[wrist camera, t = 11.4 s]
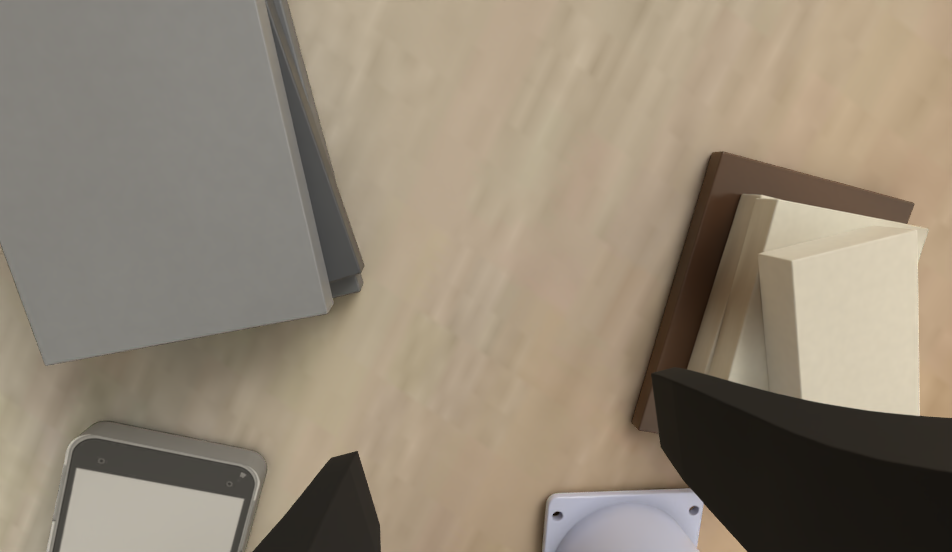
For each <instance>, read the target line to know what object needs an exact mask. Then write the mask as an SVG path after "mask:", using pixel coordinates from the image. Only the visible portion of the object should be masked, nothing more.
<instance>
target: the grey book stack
mask: <svg viewBox="0 0 952 552" xmlns="http://www.w3.org/2000/svg"><path fill="white" fill-rule="evenodd" d="M0 244H1V247H2V249H3V252H4V255H5V258H6V260H7V263H8V266H9V268H10V271H11V274H12V277H13V279H14V282H15V285H16V288H17V290H18V293H19V296H20V298H21V301H22V304H23V307H24V309H25V312H26V315H27V317H28V320H29V323H30V326H31V328H32V331H33V334H34V336H35V339H36V342H37V345H38V347H39V350H40V353H41V356H42V358H43V361H44V364H45V365H46V366H48V365H54V364H59V363H64V362H70V361H75V360H81V359H86V358H91V357H97V356H102V355H108V354H113V353H118V352H124V351H129V350H135V349H140V348H146V347H151V346H156V345H162V344H167V343H173V342H178V341H183V340H189V339H194V338H200V337H205V336H210V335H216V334H221V333H227V332H232V331H238V330H243V329H248V328H254V327H259V326H265V325H270V324H275V323H281V322H286V321H292V320H297V319H302V318H308V317H313V316H319V315H324V314H327V313H328V312H329V310H330V309H331V307H332V305H333V304H334V302H333V298H335V297H339V296H344V295H348V294H352V293H356V292H359V291H360V290H361V288H362V286H363V280H362V277H361V272H362V270H363V268H364V263H363V260H362V257H361V254H360V251H359V248H358V245H357V242H356V240H355V237H354V234H353V231H352V228H351V225H350V222H349V219H348V216H347V213H346V211H345V208H344V205H343V202H342V199H341V196H340V193H339V190H338V187H337V184H336V180H335V176H334V173H333V169H332V165H331V162H330V158H329V154H328V150H327V147H326V143H325V139H324V136H323V132H322V128H321V124H320V121H319V117H318V113H317V110H316V106H315V102H314V98H313V95H312V91H311V87H310V84H309V80H308V76H307V73H306V69H305V65H304V61H303V58H302V54H301V50H300V47H299V43H298V39H297V35H296V32H295V28H294V24H293V21H292V17H291V13H290V9H289V6H288V2H287V0H0Z"/></svg>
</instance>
